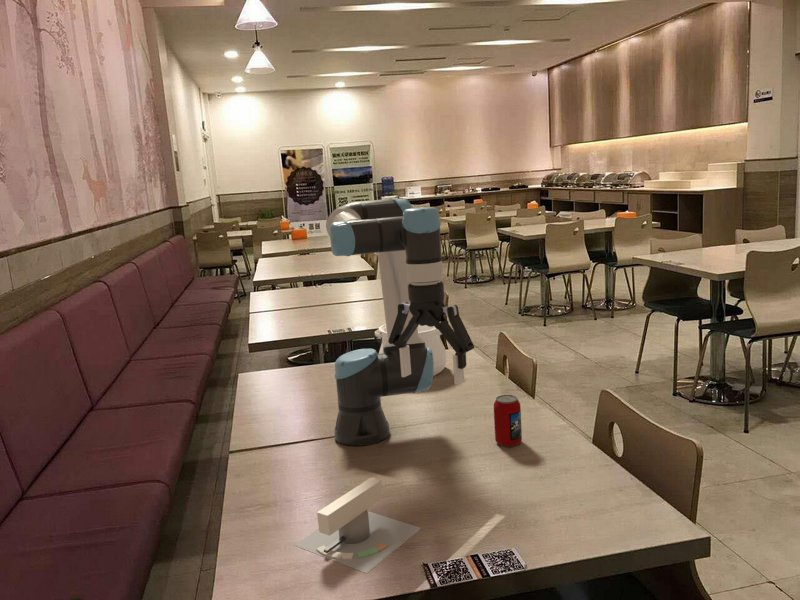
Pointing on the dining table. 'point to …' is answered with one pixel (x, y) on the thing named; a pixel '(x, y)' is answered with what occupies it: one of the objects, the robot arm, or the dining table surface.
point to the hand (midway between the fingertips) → (432, 379)
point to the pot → (431, 341)
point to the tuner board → (362, 543)
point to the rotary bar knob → (350, 513)
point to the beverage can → (507, 420)
